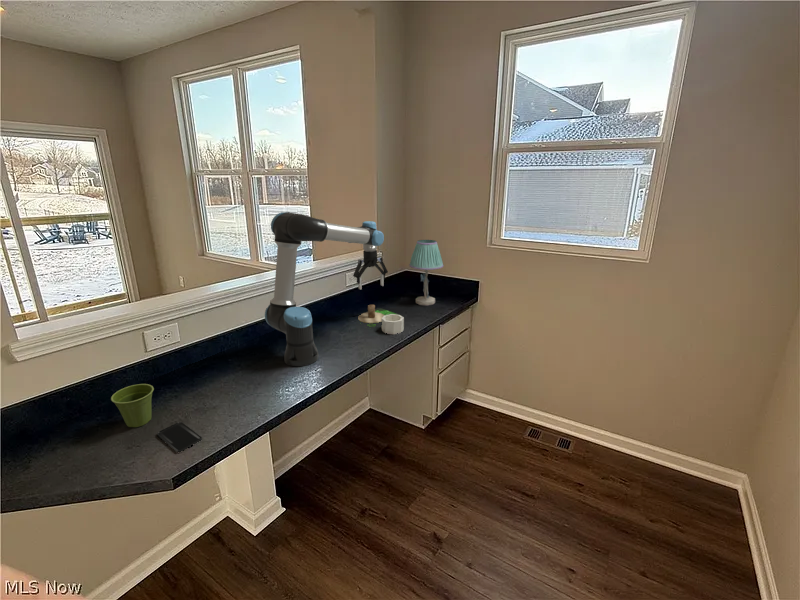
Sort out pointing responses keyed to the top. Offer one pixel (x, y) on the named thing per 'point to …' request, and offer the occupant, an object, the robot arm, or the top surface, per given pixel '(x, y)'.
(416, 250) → the table lamp
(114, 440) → the top surface
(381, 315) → the lid
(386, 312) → the mouse mat
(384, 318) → the cup
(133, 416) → the plant pot
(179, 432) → the phone
